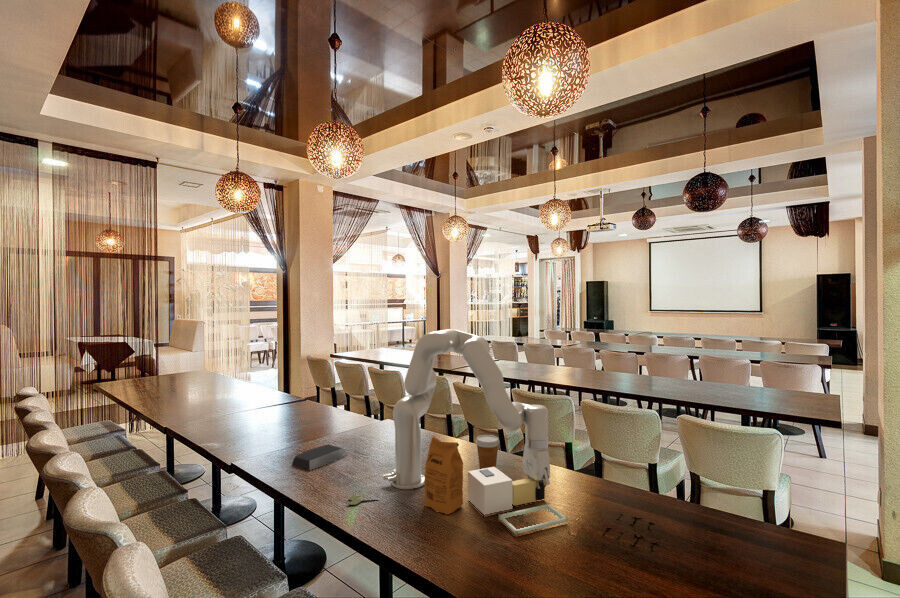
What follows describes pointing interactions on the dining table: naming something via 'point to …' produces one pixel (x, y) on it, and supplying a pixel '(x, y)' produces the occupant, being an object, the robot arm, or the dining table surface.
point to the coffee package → (443, 477)
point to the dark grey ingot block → (318, 457)
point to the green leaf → (354, 500)
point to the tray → (537, 526)
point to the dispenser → (489, 490)
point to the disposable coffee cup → (487, 450)
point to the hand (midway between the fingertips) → (536, 496)
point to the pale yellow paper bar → (524, 491)
